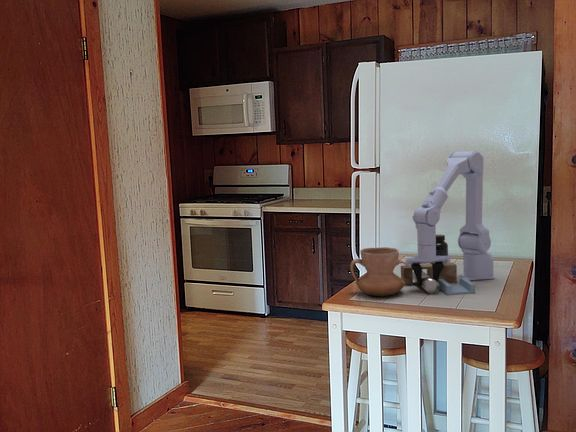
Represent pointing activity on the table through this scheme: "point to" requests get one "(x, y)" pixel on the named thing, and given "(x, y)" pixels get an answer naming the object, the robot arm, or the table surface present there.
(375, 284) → the ceramic jug
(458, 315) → the table surface
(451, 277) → the beam
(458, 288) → the cradle
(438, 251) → the supplement bottle
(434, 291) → the axle
